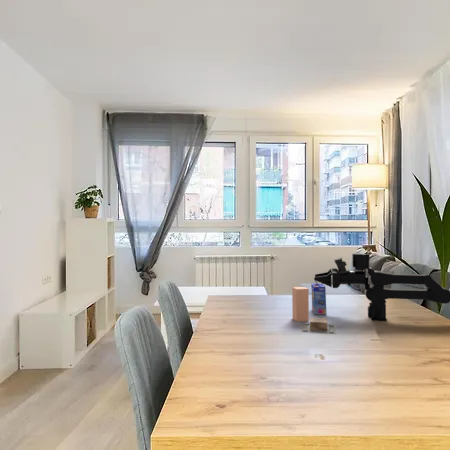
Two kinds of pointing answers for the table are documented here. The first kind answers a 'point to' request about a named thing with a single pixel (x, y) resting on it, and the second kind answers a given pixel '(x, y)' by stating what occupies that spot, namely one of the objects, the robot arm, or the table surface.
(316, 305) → the ink cartridge box
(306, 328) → the baseplate
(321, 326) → the short brick
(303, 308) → the tall brick
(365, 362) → the table surface
